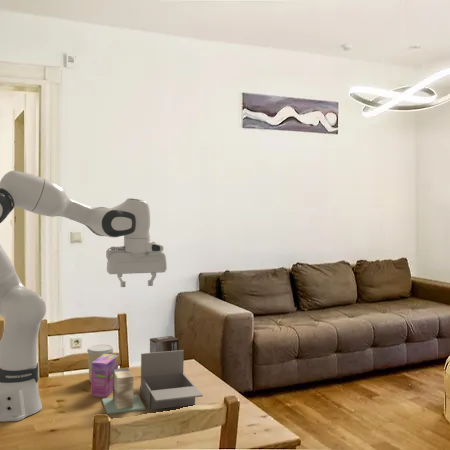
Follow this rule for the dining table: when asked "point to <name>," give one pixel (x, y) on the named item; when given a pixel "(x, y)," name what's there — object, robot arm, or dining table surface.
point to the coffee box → (164, 344)
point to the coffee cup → (97, 354)
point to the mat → (112, 408)
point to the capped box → (123, 388)
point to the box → (103, 375)
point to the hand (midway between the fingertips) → (136, 286)
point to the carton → (166, 380)
